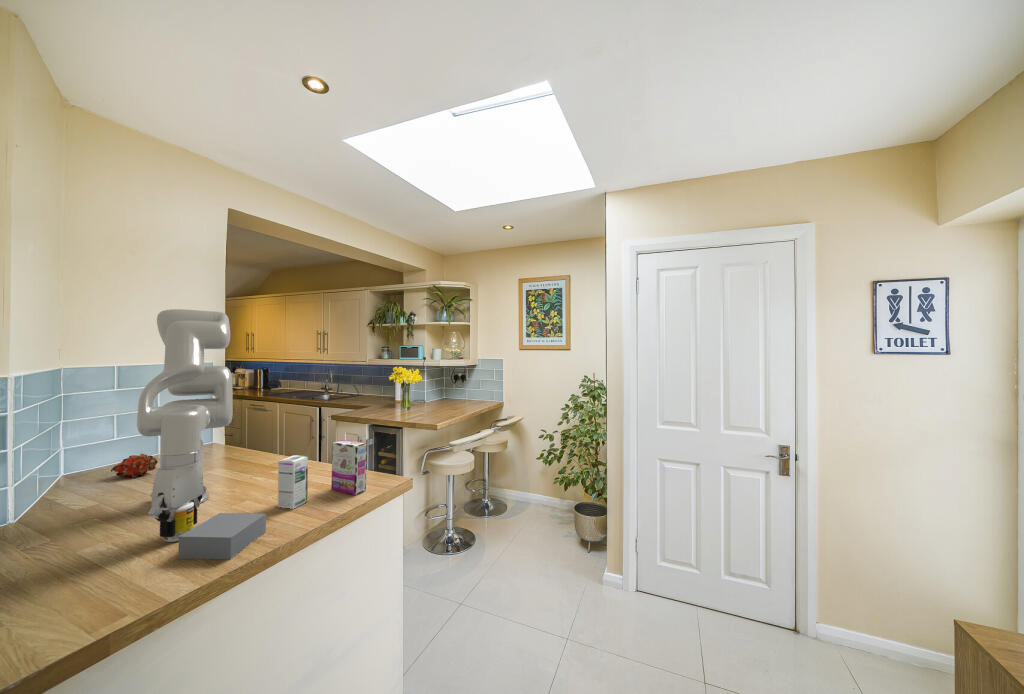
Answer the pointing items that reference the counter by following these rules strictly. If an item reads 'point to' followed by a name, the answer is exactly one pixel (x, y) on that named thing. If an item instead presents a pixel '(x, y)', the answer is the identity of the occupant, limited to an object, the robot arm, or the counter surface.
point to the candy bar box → (349, 467)
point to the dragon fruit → (135, 466)
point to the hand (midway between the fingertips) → (179, 529)
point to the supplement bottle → (182, 520)
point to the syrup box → (292, 481)
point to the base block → (221, 536)
